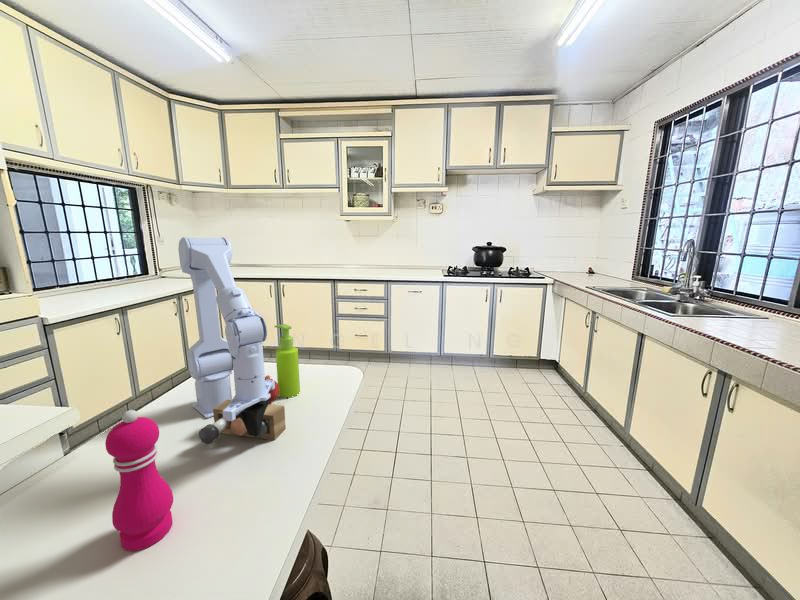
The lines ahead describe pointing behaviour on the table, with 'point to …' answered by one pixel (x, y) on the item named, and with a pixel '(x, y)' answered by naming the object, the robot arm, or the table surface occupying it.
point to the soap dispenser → (287, 364)
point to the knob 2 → (264, 428)
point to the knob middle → (238, 427)
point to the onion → (275, 391)
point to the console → (272, 413)
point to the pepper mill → (139, 483)
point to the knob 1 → (213, 431)
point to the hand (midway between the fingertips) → (254, 434)
